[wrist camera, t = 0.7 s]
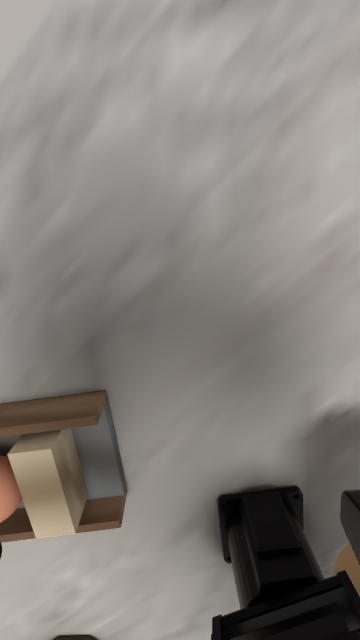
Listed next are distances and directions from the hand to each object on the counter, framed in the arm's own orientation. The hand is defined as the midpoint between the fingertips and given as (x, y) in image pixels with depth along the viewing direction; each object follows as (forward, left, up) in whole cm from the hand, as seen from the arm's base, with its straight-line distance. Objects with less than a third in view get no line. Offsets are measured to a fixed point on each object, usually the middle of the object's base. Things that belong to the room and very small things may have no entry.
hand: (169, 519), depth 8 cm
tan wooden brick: (-7, +9, -12) cm, 16 cm away
